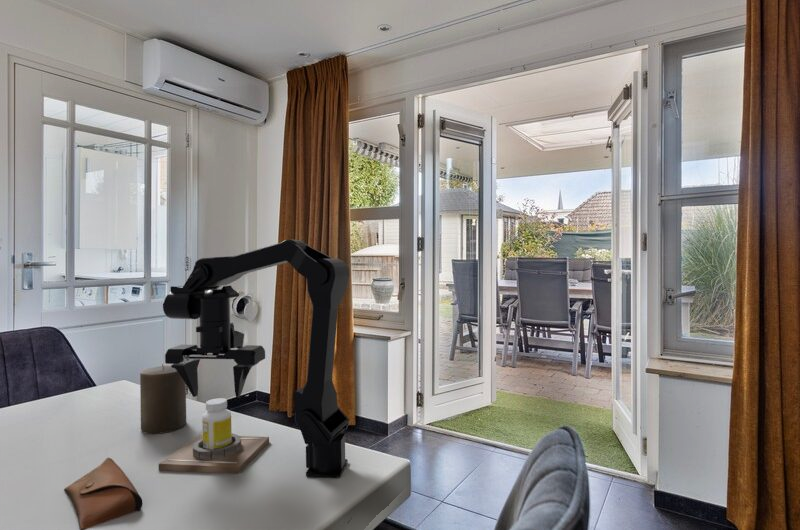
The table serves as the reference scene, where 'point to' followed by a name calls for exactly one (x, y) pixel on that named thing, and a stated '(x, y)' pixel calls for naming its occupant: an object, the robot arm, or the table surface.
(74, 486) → the sunglasses case
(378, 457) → the table surface
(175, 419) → the pillar candle
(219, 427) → the supplement bottle
